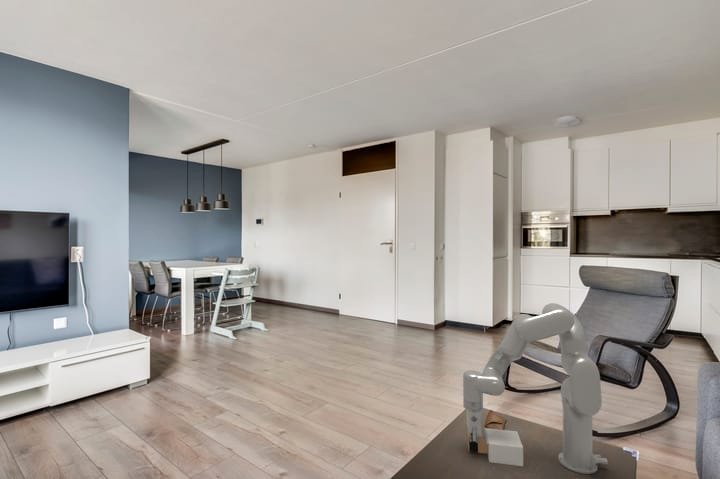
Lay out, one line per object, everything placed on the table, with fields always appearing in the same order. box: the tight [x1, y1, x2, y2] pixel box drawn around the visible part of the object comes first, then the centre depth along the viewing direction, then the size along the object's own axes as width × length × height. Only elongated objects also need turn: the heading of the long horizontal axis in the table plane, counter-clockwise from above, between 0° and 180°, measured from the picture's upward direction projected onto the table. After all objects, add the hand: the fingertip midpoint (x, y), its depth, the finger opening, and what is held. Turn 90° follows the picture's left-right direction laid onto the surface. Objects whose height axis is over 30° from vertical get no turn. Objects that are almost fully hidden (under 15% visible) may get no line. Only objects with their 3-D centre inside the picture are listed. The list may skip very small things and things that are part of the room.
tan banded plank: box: [467, 434, 488, 455], centre depth 146 cm, size 13×2×6 cm, turn 77°
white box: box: [483, 427, 524, 467], centre depth 145 cm, size 13×12×7 cm
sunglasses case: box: [483, 409, 508, 430], centre depth 168 cm, size 18×7×7 cm
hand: (473, 449), depth 147 cm, fingers closed on tan banded plank
